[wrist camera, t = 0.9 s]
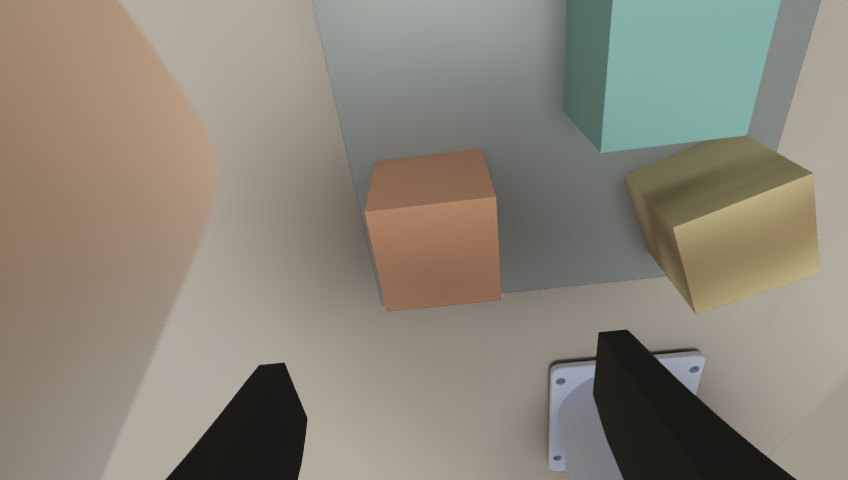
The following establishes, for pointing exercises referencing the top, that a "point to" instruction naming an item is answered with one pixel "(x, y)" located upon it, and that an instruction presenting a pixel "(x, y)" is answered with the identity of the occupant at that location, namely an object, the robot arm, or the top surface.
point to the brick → (727, 220)
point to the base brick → (664, 69)
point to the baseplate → (513, 123)
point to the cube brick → (434, 230)
